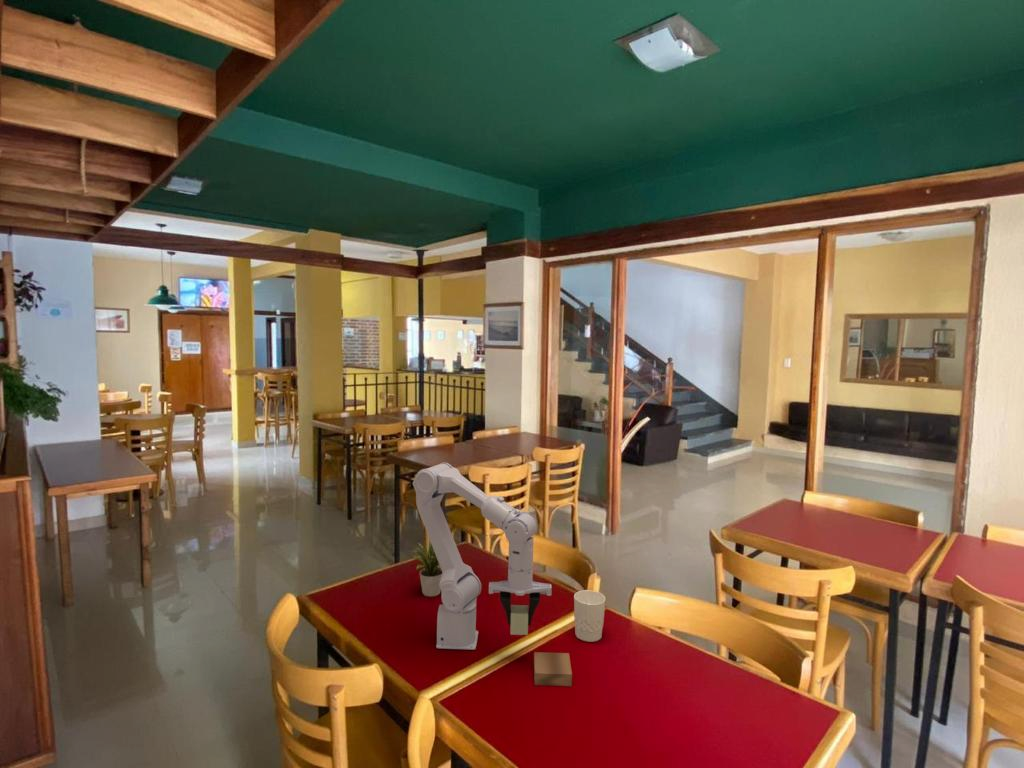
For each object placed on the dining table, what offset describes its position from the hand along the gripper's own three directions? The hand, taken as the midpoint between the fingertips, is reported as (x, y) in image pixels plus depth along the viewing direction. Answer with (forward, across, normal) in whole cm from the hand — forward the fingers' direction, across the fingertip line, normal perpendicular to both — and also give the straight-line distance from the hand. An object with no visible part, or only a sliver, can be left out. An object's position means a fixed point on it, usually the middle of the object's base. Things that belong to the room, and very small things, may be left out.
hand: (519, 623), depth 124 cm
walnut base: (+9, +8, -6) cm, 13 cm away
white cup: (+9, +18, +11) cm, 23 cm away
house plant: (+8, -26, +30) cm, 41 cm away
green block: (+2, 0, 0) cm, 2 cm away
